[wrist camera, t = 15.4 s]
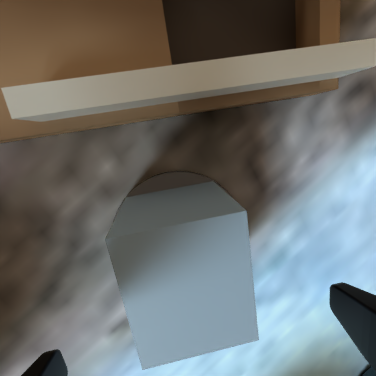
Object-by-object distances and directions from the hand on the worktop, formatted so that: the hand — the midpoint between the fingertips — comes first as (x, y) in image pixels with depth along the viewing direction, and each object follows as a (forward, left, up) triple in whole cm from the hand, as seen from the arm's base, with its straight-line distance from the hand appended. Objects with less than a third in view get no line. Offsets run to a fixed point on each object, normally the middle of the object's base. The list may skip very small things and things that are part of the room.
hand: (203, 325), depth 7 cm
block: (0, 0, -6) cm, 6 cm away
